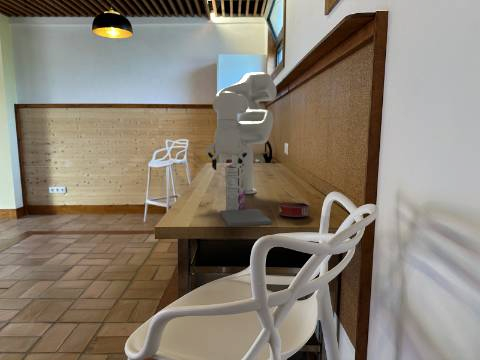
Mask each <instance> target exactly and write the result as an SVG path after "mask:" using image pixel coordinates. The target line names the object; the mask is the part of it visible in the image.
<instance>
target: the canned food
mask: <svg viewBox="0 0 480 360" xmlns="http://www.w3.org/2000/svg"><path fill="white" fill-rule="evenodd" d="M281 189H282V190H283V191H284V193H286V194H287V195H288V196H289V197H290V198H291V199H294V200H296V201H298V202H281V203H279V204H278V214H279V215H281V216H284V217H293V218H294V217H295V218H296V217H307V216H309V215H310V204H308V203H305V202H303V201H301V200H299V199H298V198H296V197H293V196H292V195H291V194H290V193H288V192H287V191H286V190H285V189H284V188H283V187H281Z"/></svg>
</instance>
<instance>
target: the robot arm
mask: <svg viewBox="0 0 480 360" xmlns="http://www.w3.org/2000/svg"><path fill="white" fill-rule="evenodd" d="M276 98H277V87H276V84H275V83H274V80H273V78H272V77H271V75H270V74H269V73H267V72H249V73H246V74H243V75H242V76H241V78H240V79H239V80H238V81H237V83H235V84H231V85H229V86H226V87H223V88H222V89H220V90H219V91H217V93H216V95H215V96H214V98H213V100H212V108H213V111H214V112H215V113H217V128H215V131H214V137H213V138H214V139H213V143H212V144H211V145H208V146H207V147H205V148H204V151H205V152H206V154H207V156H208V157H209V158H210V159H211V168H212V169H213V171H217V159H216V158H217V157H218V156H223V155H224V156H231V164H235V163H236V164H245V195H251V194H256V193H257V189H256V188H254V152H253V150H252V149H251V147H250V146H249V144H254V145H255V144H259V145H260V144H261V145H262V144H266V143H268V141H269V138H270V135H271V132H272V130H273V126H274V125H273V124H274V115H273V112H272V110H269V109H261V106H260V105H259V104H258V103H257V102H271V101H274V100H276ZM239 114H240V116H239V117H238V115H239ZM238 118H239V119H238ZM212 149H213V153H211V150H212Z"/></svg>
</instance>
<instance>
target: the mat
mask: <svg viewBox="0 0 480 360" xmlns="http://www.w3.org/2000/svg"><path fill="white" fill-rule="evenodd" d="M219 213H220V216H221V217H222V218H223V221H225V223H226V225H227V227H241V226H256V225H257V226H258V225H271V224H272V220H271V219H270V217H267V215H265V214H264V213H263V212H262V211H261V210H259V208H249V209H247V208H246V209H243V210H226V209H225V210H220V211H219Z"/></svg>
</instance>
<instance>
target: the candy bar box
mask: <svg viewBox="0 0 480 360" xmlns="http://www.w3.org/2000/svg"><path fill="white" fill-rule="evenodd" d="M244 208H246V194H245V164H236V163H235V164H232V163H231V164H229V165H227V166H225V210H244Z"/></svg>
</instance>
